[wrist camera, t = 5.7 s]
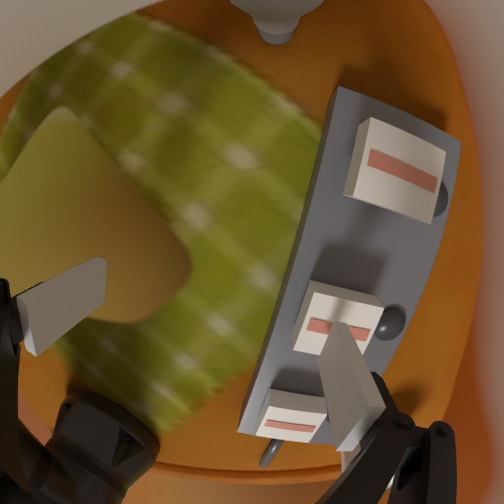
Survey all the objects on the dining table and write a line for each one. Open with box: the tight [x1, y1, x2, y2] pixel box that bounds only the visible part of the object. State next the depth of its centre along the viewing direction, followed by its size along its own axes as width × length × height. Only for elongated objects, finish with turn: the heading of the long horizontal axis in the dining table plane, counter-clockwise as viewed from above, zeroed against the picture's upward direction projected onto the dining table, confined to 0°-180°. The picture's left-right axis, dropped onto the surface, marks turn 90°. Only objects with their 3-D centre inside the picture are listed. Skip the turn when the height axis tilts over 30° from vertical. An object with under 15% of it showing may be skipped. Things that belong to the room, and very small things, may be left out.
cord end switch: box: [256, 389, 327, 443], centre depth 19 cm, size 5×4×2 cm
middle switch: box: [292, 280, 384, 355], centre depth 16 cm, size 5×4×2 cm
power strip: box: [237, 86, 461, 468], centre depth 20 cm, size 10×39×3 cm, turn 166°
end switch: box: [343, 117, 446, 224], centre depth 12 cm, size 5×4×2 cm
